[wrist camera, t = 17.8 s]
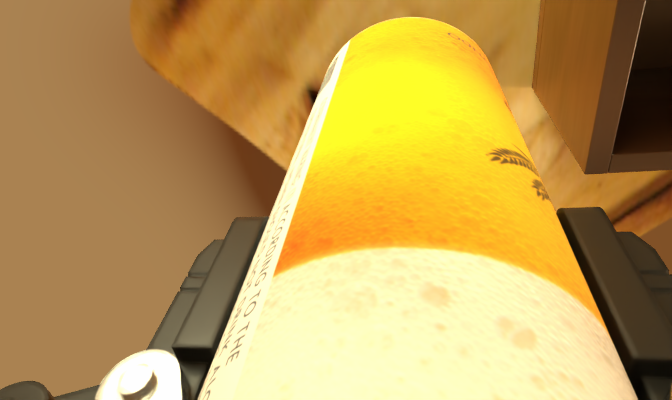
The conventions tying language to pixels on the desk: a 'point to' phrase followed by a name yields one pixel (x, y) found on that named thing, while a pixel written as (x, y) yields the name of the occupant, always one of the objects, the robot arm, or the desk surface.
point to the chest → (608, 81)
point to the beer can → (414, 247)
